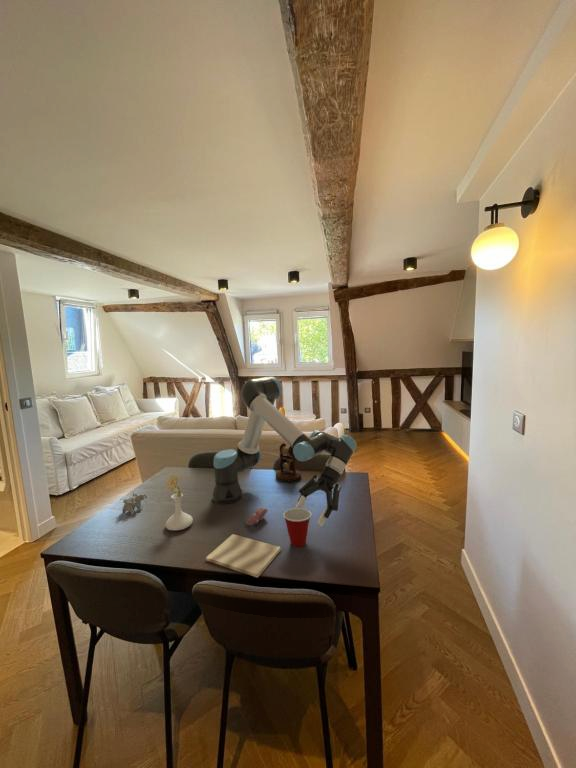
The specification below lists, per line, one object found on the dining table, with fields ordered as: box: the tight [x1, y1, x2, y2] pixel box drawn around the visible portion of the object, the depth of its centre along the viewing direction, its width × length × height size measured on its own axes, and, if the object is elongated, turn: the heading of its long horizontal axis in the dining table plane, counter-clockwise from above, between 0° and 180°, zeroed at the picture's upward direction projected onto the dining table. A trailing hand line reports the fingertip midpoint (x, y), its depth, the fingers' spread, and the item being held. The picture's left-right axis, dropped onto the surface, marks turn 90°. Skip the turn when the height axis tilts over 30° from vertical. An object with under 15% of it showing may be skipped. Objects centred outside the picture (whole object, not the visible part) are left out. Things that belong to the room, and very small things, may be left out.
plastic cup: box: [282, 507, 312, 548], centre depth 127 cm, size 11×11×12 cm
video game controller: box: [245, 507, 268, 526], centre depth 143 cm, size 10×5×7 cm, turn 148°
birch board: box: [205, 533, 282, 578], centre depth 121 cm, size 22×16×1 cm
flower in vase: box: [165, 472, 194, 532], centre depth 141 cm, size 13×11×25 cm
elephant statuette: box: [121, 492, 148, 516], centre depth 159 cm, size 9×12×8 cm
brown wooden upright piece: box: [275, 442, 302, 484], centre depth 188 cm, size 15×15×20 cm
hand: (307, 517), depth 128 cm, fingers open, 13 cm apart
